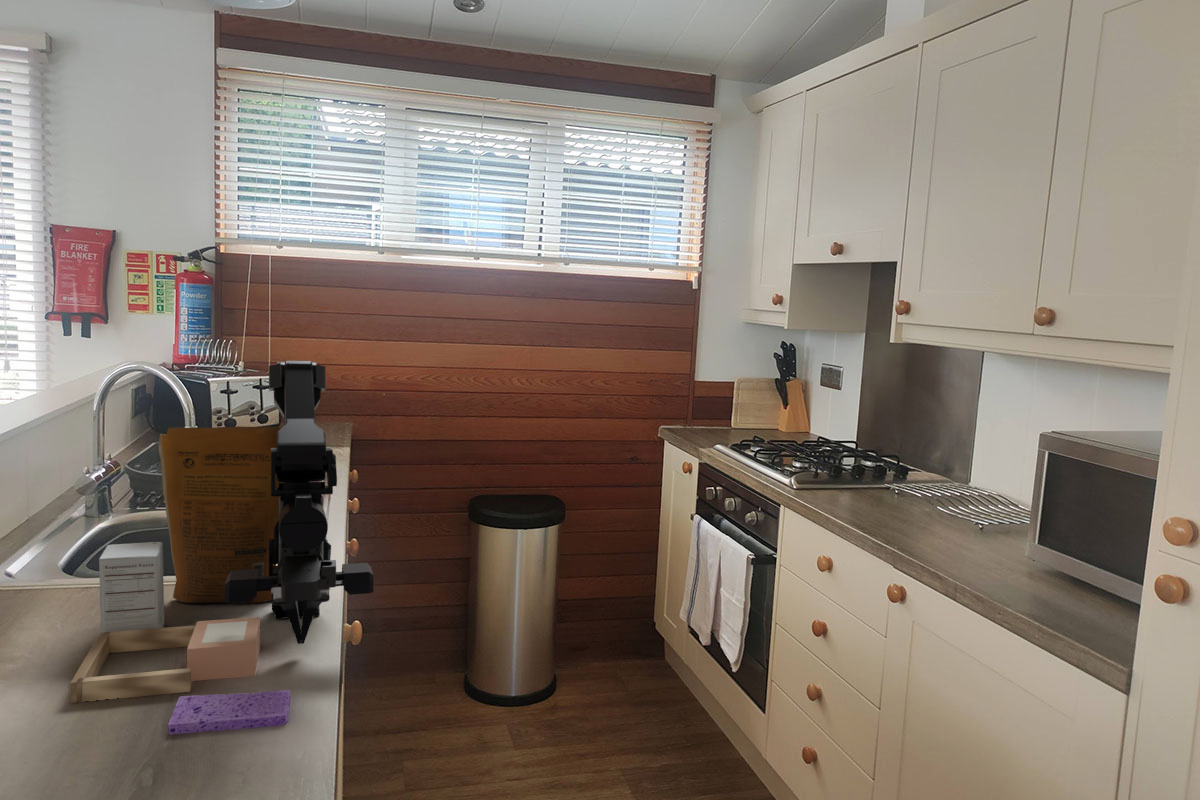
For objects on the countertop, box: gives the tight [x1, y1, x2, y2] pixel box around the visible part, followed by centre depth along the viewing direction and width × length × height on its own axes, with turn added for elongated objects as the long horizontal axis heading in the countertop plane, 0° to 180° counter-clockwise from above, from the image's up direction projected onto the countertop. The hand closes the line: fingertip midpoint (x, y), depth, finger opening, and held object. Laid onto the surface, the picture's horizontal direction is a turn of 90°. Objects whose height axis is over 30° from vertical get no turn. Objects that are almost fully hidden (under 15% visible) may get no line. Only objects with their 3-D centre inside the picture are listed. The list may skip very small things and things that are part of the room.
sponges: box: [167, 689, 291, 735], centre depth 101 cm, size 7×13×2 cm, turn 106°
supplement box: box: [98, 541, 165, 633], centre depth 122 cm, size 7×7×13 cm
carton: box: [186, 616, 261, 682], centre depth 115 cm, size 8×10×5 cm
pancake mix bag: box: [158, 425, 284, 604], centre depth 138 cm, size 7×19×28 cm, turn 96°
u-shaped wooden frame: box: [70, 624, 196, 704], centre depth 112 cm, size 13×16×2 cm
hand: (300, 642), depth 118 cm, fingers closed
